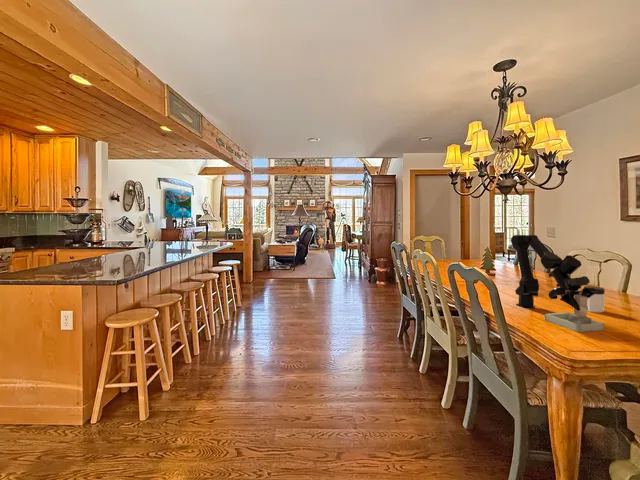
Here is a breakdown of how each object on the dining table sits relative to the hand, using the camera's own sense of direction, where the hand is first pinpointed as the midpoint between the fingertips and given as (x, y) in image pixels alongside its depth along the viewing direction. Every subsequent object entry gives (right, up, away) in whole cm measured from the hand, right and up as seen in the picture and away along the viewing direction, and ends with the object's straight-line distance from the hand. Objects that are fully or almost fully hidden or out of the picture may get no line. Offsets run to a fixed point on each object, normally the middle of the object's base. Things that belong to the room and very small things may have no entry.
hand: (583, 310), depth 137 cm
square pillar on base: (0, -7, +2) cm, 7 cm away
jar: (+28, -6, +27) cm, 39 cm away
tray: (-1, -8, +5) cm, 9 cm away
